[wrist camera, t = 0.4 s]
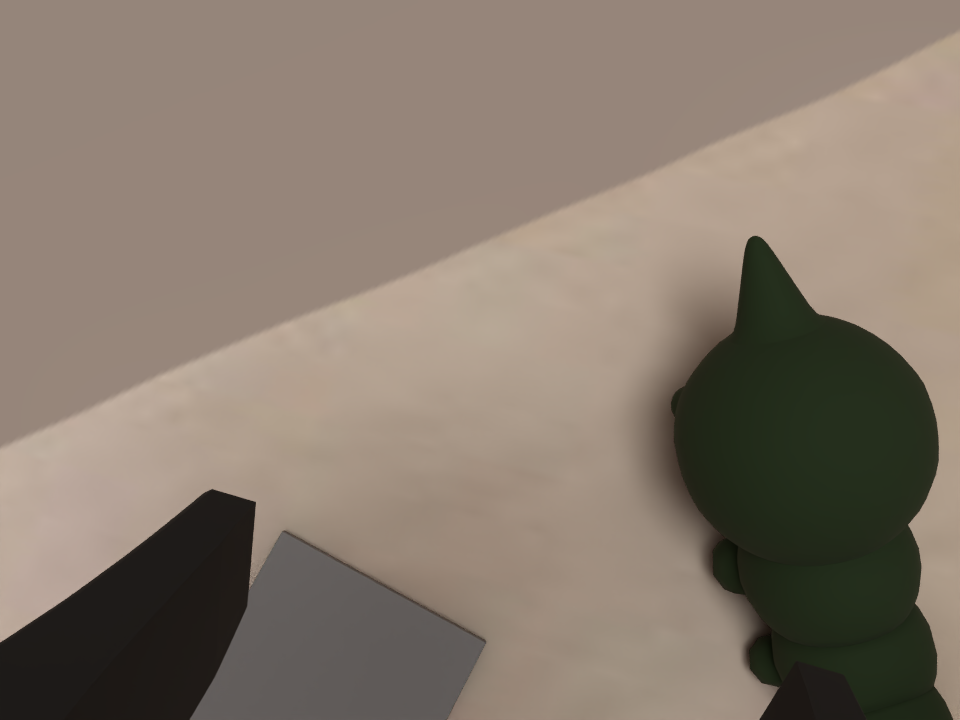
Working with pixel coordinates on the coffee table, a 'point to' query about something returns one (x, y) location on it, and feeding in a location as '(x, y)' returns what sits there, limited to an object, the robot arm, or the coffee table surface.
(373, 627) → the mat
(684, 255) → the coffee table surface
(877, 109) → the coffee table surface
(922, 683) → the toy figurine
